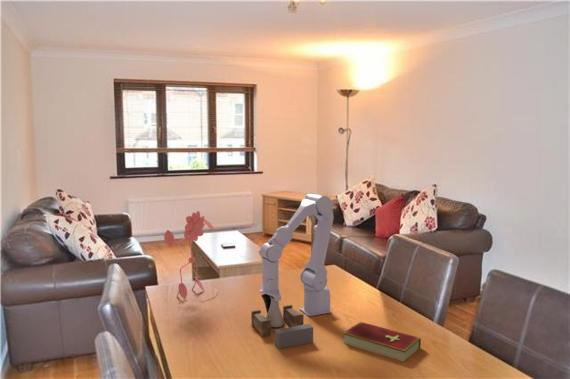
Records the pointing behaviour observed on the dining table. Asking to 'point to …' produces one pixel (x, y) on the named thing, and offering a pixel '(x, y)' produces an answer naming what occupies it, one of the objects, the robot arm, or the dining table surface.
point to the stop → (293, 336)
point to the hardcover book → (382, 341)
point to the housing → (265, 324)
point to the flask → (275, 314)
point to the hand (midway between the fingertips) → (270, 314)
